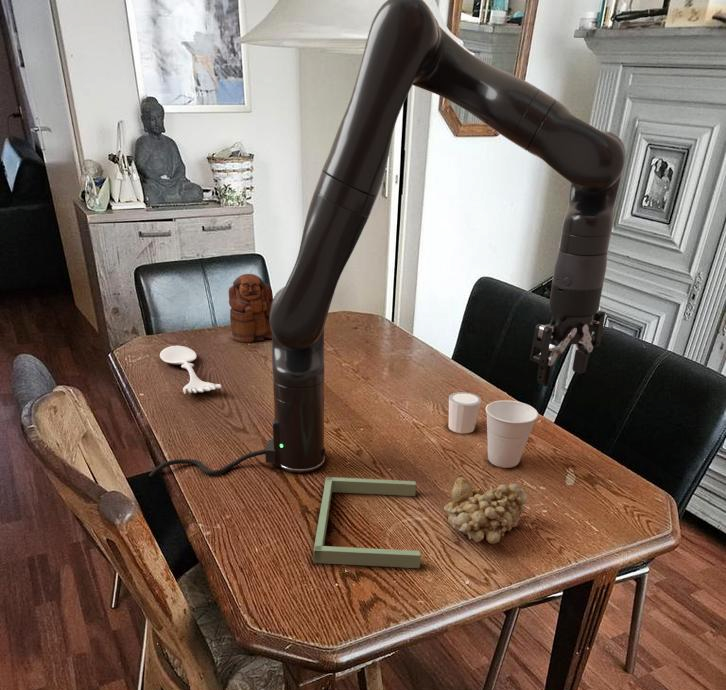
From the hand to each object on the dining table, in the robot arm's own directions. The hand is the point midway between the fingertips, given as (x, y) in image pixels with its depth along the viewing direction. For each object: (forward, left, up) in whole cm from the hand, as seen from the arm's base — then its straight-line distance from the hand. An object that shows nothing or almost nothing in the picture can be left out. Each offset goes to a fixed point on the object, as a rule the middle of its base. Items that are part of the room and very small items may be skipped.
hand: (561, 378), depth 106 cm
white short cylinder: (-12, +23, -22) cm, 34 cm away
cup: (-5, +9, -22) cm, 24 cm away
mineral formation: (-13, -15, -22) cm, 29 cm away
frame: (-31, -15, -22) cm, 40 cm away
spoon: (-78, +45, -22) cm, 92 cm away
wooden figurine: (-67, +74, -22) cm, 102 cm away
